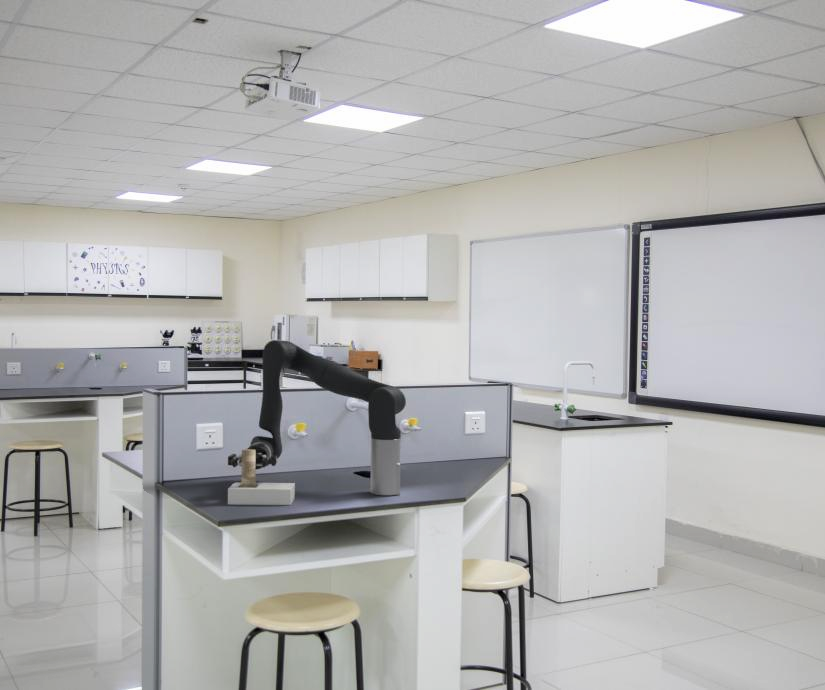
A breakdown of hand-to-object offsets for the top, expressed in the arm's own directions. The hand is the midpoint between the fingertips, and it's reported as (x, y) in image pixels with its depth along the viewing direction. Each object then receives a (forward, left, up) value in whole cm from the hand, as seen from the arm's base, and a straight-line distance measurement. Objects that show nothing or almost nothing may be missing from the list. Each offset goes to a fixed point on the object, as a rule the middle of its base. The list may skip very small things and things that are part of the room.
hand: (248, 463), depth 248 cm
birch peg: (0, 0, -11) cm, 11 cm away
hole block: (-4, 0, -11) cm, 12 cm away
